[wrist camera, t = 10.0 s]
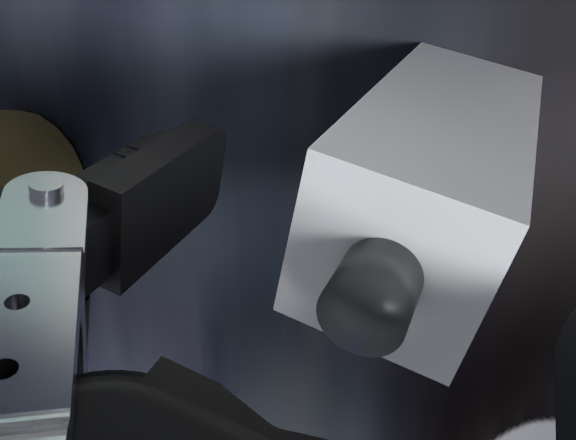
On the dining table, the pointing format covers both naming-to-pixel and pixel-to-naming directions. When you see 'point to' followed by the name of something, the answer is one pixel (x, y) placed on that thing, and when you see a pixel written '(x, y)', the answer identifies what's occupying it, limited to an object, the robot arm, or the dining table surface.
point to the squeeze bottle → (33, 146)
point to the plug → (414, 210)
